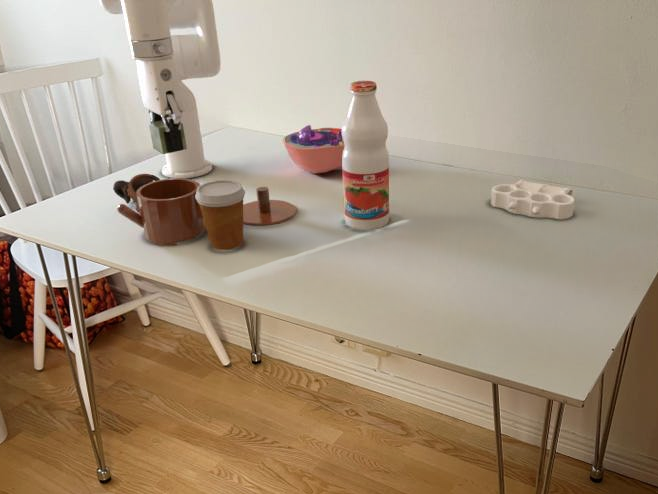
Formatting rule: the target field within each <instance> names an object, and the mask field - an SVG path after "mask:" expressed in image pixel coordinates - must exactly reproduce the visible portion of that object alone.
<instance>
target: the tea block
mask: <svg viewBox="0 0 658 494" xmlns="http://www.w3.org/2000/svg"><path fill="white" fill-rule="evenodd" d="M167 120H168V123H169V119H167ZM180 126H181V136H182V142H183V148H184V149H183V150H185V149H187V146H186V140H185V134H184V128H183V123H181V122H180ZM148 127H149V132H150V138H151V143H152V148H153V149H154V150H155V151H157V152H159V153H160V154H162V155H165V154H167V153H169V152H168V151H167V147H166V142H165V136H164V132H165V127H164V124H163V120H162V121H156V122H151V121H150V122H148Z"/></svg>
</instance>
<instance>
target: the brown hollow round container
mask: <svg viewBox="0 0 658 494" xmlns="http://www.w3.org/2000/svg"><path fill="white" fill-rule="evenodd" d="M200 185H201V184H200V183H199V182H198V181H196V180H194V179H191V178H170V177H169V178H163V179H160V180H158V181H154V180H153V182H150V183H148V184H145V185H143V186H142V187H140V188H139V189H138V190H137V191H136V194H137V199H138V204H139V208H140V212H139V214H140V215H141V218H142V222H143V227H144V228H143V231H144V236H145V239H146V240H147V242H149V243H151V244H154V245H158V246H177V245H178V243H182V242H186V241H190V240H193V239H197V238H199V237H200V236H202V235H203V234H204V233H205V232H207V229H206V226H205V222H204V219H203V216H202V212H201V209H200V205H199V203H198V201H197V200H196V198H195V195H196V193H197V188H198V187H199V186H200Z"/></svg>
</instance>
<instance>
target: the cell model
mask: <svg viewBox="0 0 658 494" xmlns="http://www.w3.org/2000/svg"><path fill="white" fill-rule="evenodd" d="M282 143H283V145H284V147H285V149H286V152H287V154H288V156H289V158H290V159H291V160H292V161H293V163H294V164H295V165H296V167H298V168H300V169H302V170H304V171H306V172H307V173H311V174H314V175H316V174H323V173H328V172H332V171H341V170H342V154H343V150H344V142H343V138H342V128H340V127H339V128H338V127H320V128H313V129H312V125H311V124H308V125H306V126H304V127H303V128H301V129H300V130H299V131H296V132H293V133H290V134H287V135H285V136H284V137H283V138H282Z"/></svg>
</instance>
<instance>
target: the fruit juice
mask: <svg viewBox="0 0 658 494" xmlns="http://www.w3.org/2000/svg"><path fill="white" fill-rule="evenodd" d="M377 90H378V89H377V83H376V82H375V81H372V80H356V81H353V82H351V84H350V93H351V94H352V95H351V96H352V97H351V100H350V104H349V107H348V111H347V113H346V116H345V119H344V120H343V122H342V125H341V129H342V138H343V142H344V150H343V154H342V171H341V173H342V190H343V191H342V192H343V212H344V213H343V214H344V215H343V216H344V223H345V224H346V225H348V226H349V227H351V228H355V229H360V230H361V229H362V230H368V229H369V230H371V231H373V230H378V229H382V228H383V227H385V226H386V225H387V224H388V223H389V220H390V159H389V150H388V148H387V146H386V145H387V139H388V135H389V128H388V123H387V121H386V119H385V118H384V116H383V113H382V111H381V109H380V105H379V103H378V99H377V96H376V93H377Z"/></svg>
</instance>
